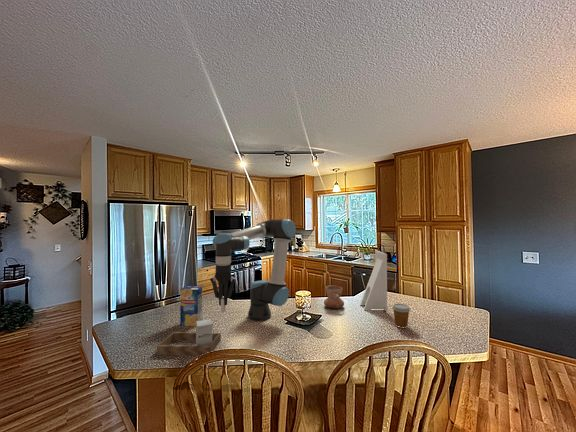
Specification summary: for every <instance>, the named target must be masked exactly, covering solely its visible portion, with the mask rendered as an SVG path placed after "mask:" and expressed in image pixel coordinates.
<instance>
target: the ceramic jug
mask: <svg viewBox="0 0 576 432" xmlns="http://www.w3.org/2000/svg"><path fill="white" fill-rule="evenodd" d="M325 293H326V295H327V298H325V299H324V301H323V304H324V305H325V307H326V308H328V309H334V310H335V309H336V310H337V309H341V308H343V307H344V306H345V302H344V300H343V299H342V298H341V297H342V293H343V287H341V286H338V285H327V286H325Z"/></svg>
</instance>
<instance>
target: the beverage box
mask: <svg viewBox="0 0 576 432" xmlns="http://www.w3.org/2000/svg"><path fill="white" fill-rule="evenodd" d="M179 295H180V296H179V300H180V301H179V310H180V313H179V314H180V315H179V318H180V319H179V320H180V322H179V323H180V327H181V326H182V327H196V321H201V320H203V286H198V285H195V286H193V285H192V286H190V285H189V286H187V285H186V286H184V287H182V288H180V289H179Z"/></svg>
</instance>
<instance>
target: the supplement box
mask: <svg viewBox="0 0 576 432" xmlns="http://www.w3.org/2000/svg"><path fill="white" fill-rule="evenodd" d="M195 332H196V341H195V346H210V344H211V343H212V342H213V341H212V333H213V322H212V319H211V318H209V319H202V320H201V321H196V326H195Z"/></svg>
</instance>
